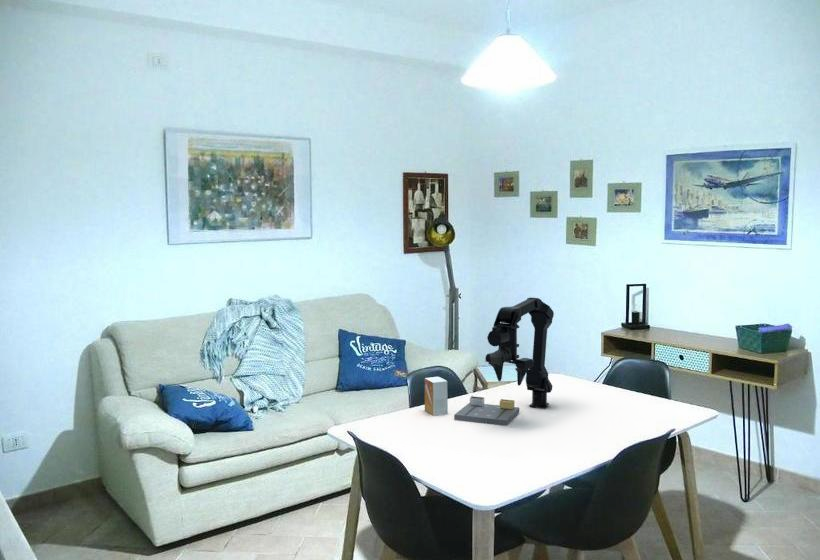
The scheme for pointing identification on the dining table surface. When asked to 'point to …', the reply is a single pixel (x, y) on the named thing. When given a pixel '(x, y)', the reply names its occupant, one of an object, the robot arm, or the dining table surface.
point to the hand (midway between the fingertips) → (509, 383)
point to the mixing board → (487, 414)
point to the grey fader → (477, 401)
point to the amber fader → (507, 404)
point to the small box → (436, 396)
